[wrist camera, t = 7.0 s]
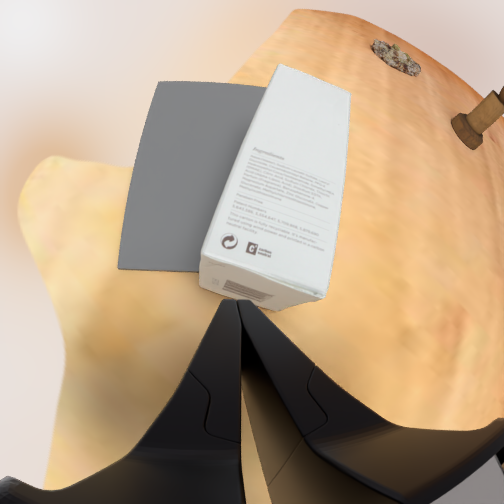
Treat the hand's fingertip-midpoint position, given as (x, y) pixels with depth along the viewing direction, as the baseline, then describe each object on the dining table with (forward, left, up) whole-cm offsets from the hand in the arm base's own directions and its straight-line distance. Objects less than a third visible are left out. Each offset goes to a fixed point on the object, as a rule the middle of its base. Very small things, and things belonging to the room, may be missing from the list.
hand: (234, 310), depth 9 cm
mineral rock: (+53, -2, -11) cm, 54 cm away
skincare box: (+2, 0, -6) cm, 6 cm away
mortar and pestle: (+45, -19, -10) cm, 50 cm away
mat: (+12, +7, -10) cm, 17 cm away
